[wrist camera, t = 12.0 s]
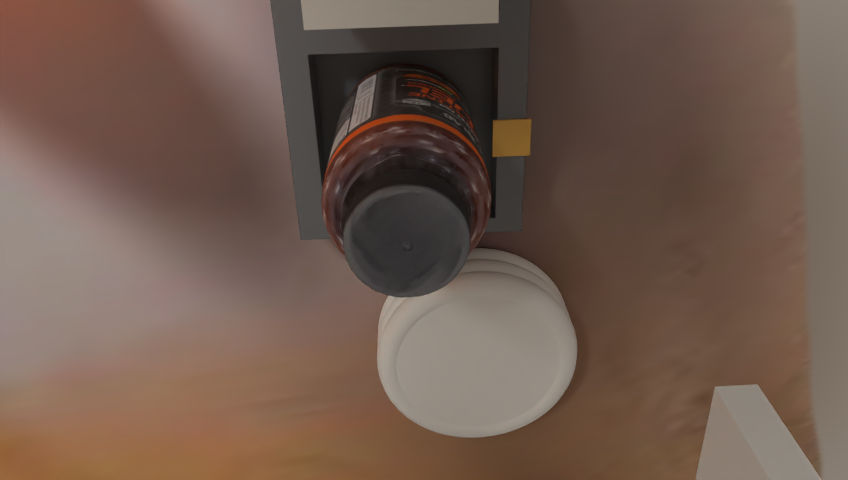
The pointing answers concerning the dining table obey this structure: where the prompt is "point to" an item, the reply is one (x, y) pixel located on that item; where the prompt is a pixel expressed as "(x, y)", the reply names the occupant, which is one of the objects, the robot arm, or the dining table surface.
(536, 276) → the coaster
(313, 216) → the grey compartment organizer
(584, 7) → the dining table surface
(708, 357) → the dining table surface
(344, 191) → the supplement bottle
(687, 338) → the dining table surface
